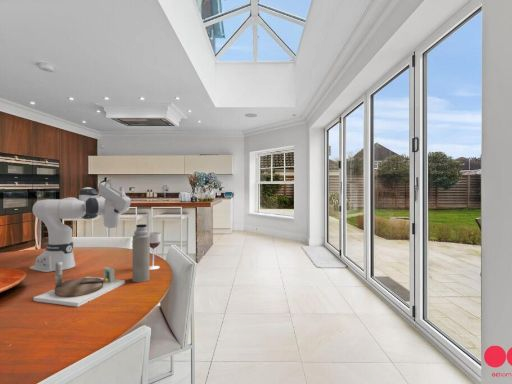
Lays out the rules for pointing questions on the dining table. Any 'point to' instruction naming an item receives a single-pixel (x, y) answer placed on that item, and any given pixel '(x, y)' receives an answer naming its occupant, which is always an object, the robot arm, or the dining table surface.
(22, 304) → the dining table surface
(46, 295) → the stand
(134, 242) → the thermos bottle
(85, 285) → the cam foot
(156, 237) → the wineglass
